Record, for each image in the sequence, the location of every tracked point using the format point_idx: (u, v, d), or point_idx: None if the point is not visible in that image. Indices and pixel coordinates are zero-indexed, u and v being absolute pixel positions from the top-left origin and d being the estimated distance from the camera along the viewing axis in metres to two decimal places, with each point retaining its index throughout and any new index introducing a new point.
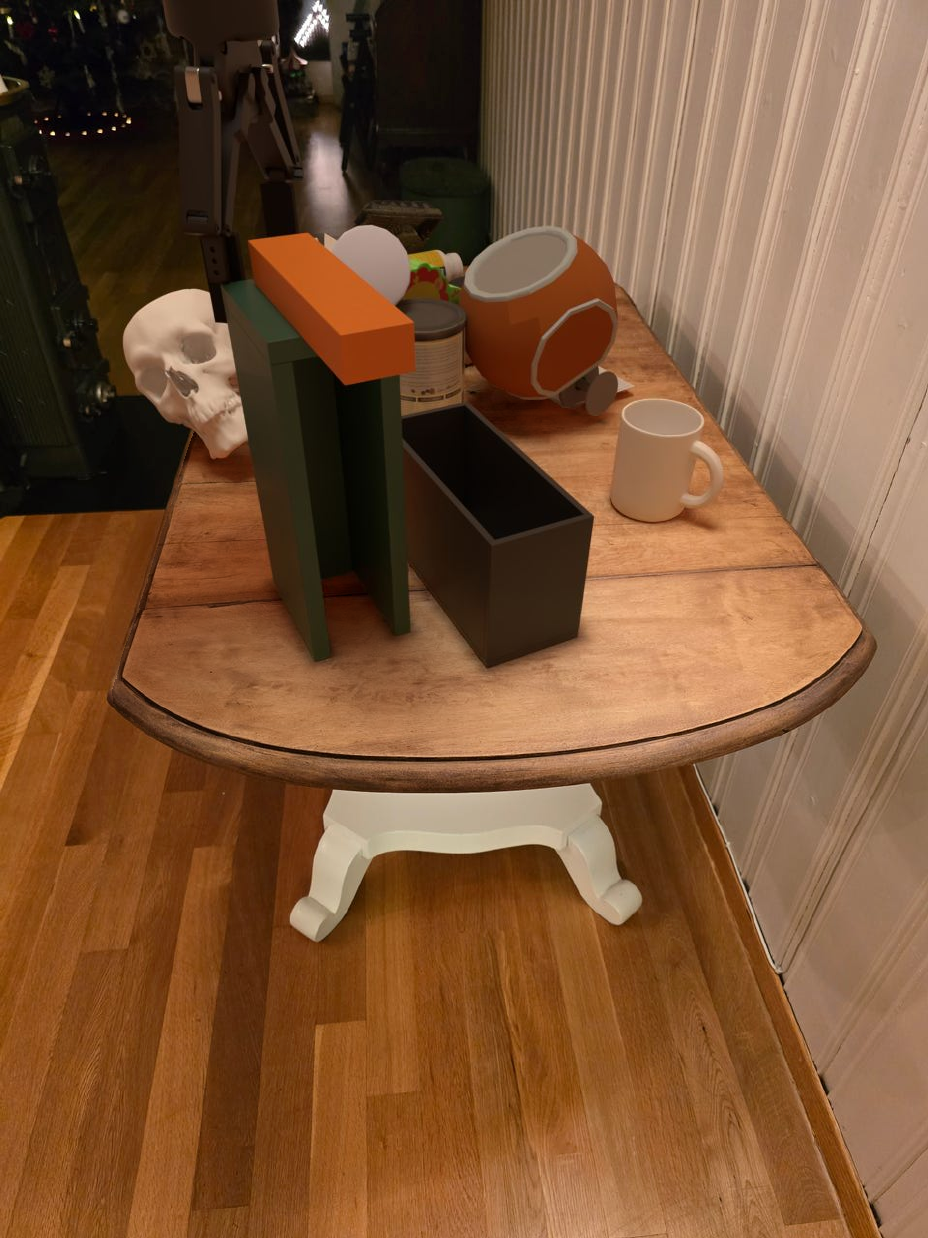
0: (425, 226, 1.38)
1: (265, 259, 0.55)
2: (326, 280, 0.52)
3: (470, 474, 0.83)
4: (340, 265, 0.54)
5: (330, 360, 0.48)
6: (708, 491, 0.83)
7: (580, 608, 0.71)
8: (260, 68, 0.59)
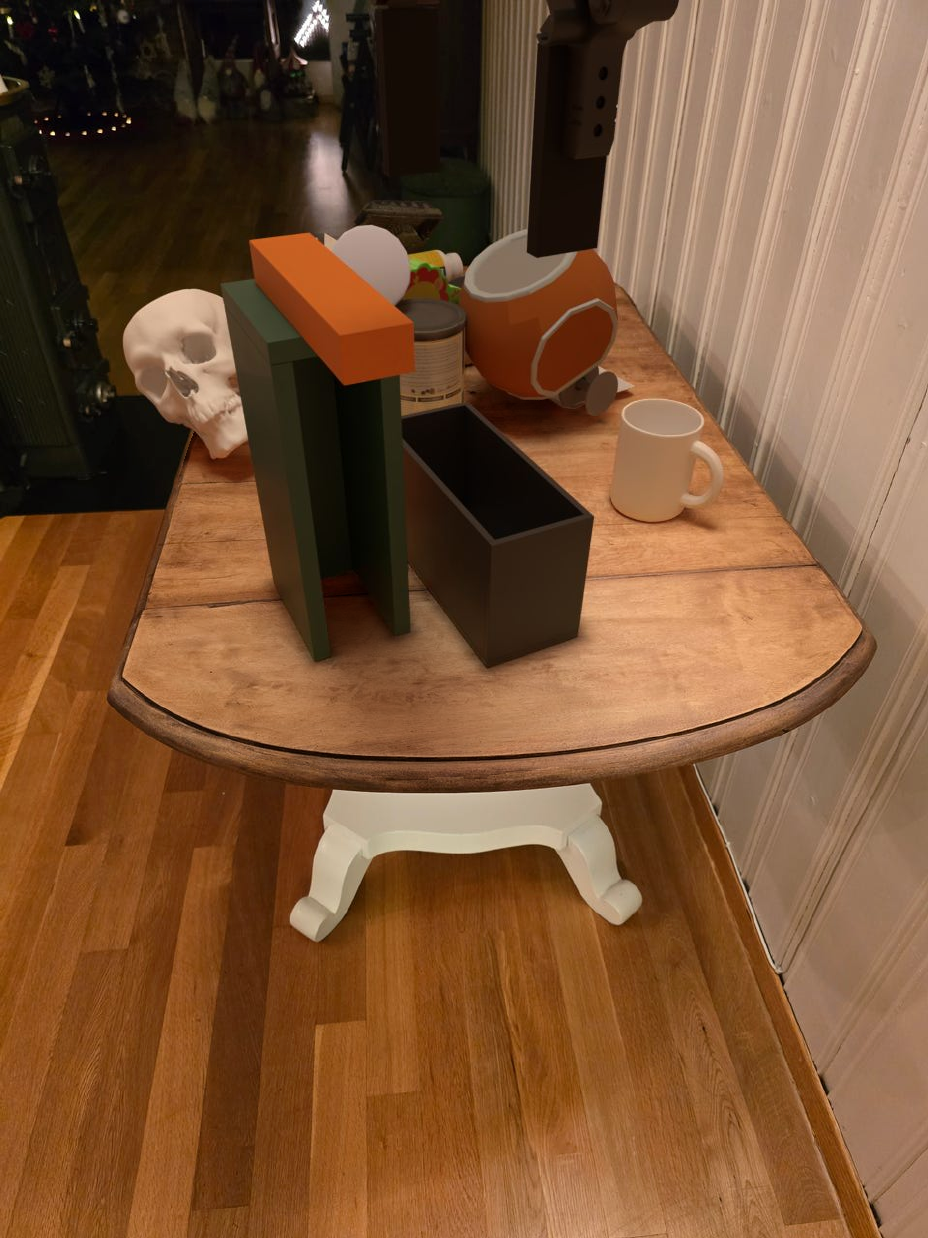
0: (425, 226, 1.38)
1: (266, 259, 0.55)
2: (326, 280, 0.52)
3: (470, 474, 0.83)
4: (341, 265, 0.54)
5: (330, 360, 0.48)
6: (708, 491, 0.83)
7: (580, 608, 0.71)
8: None
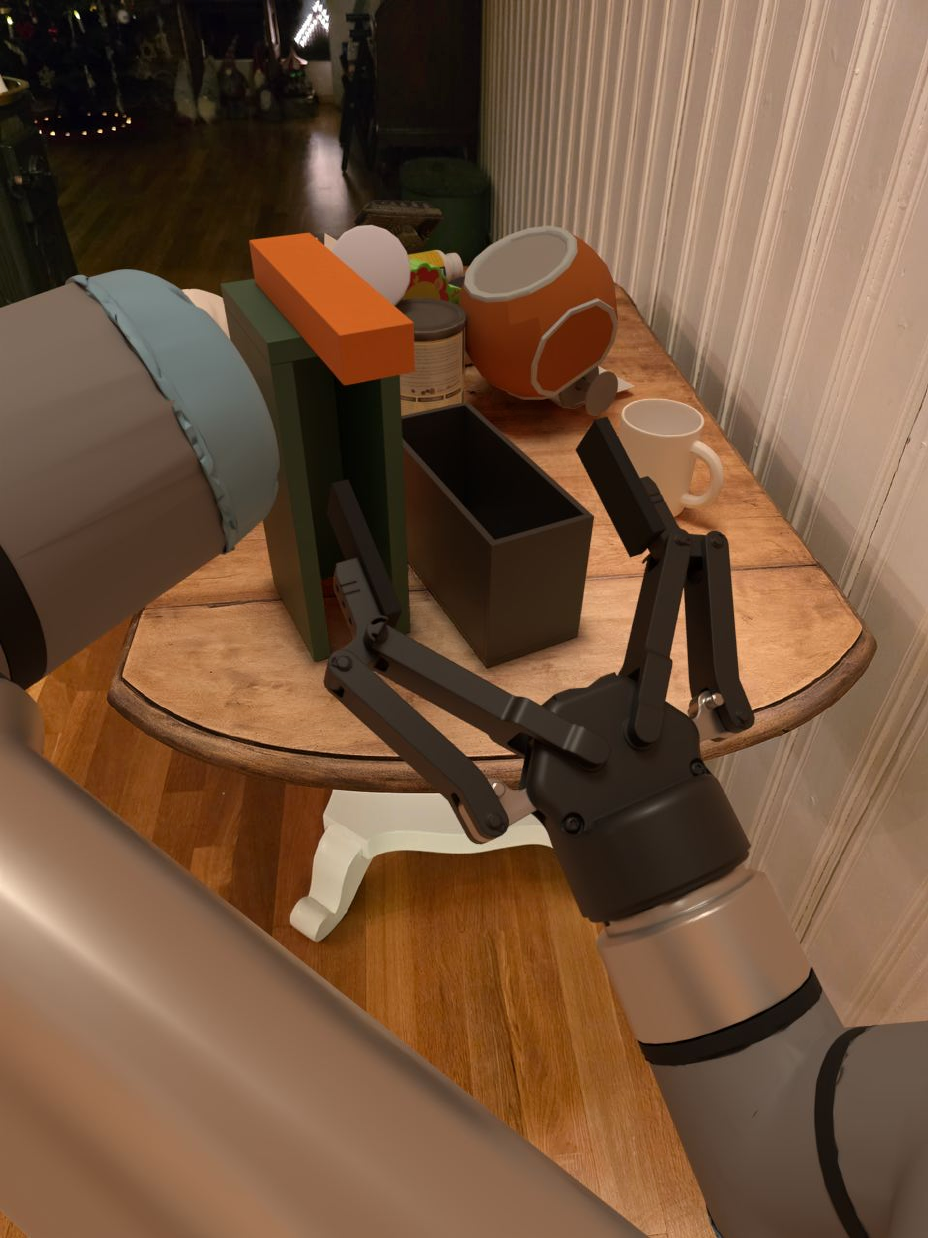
0: (425, 226, 1.38)
1: (266, 259, 0.55)
2: (326, 280, 0.52)
3: (470, 474, 0.83)
4: (341, 265, 0.54)
5: (330, 360, 0.48)
6: (708, 491, 0.83)
7: (580, 608, 0.71)
8: None
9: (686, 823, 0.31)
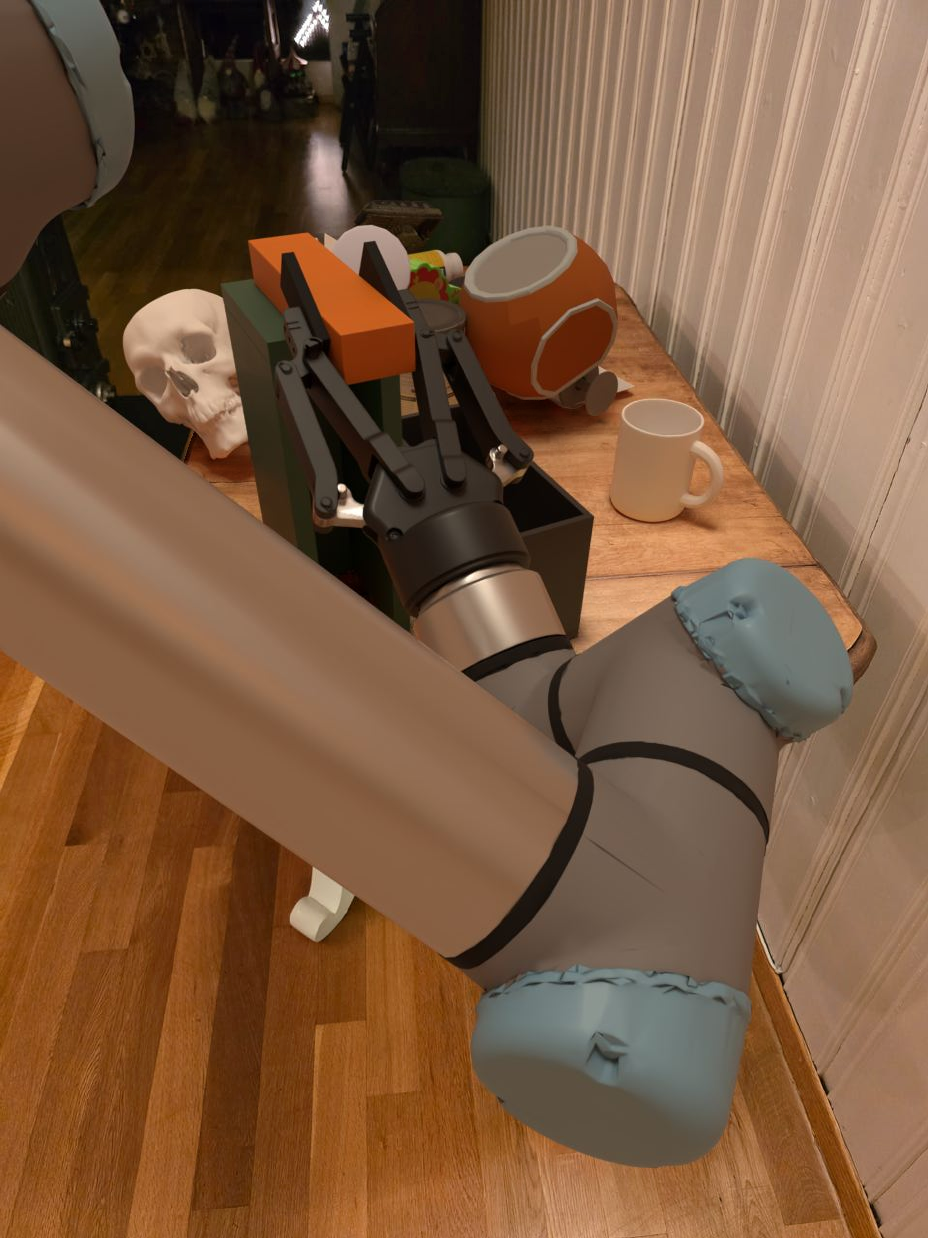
0: (425, 226, 1.38)
1: (265, 259, 0.55)
2: (326, 280, 0.52)
3: None
4: (340, 265, 0.54)
5: (330, 360, 0.48)
6: (708, 491, 0.83)
7: (580, 608, 0.71)
8: None
9: (471, 523, 0.42)
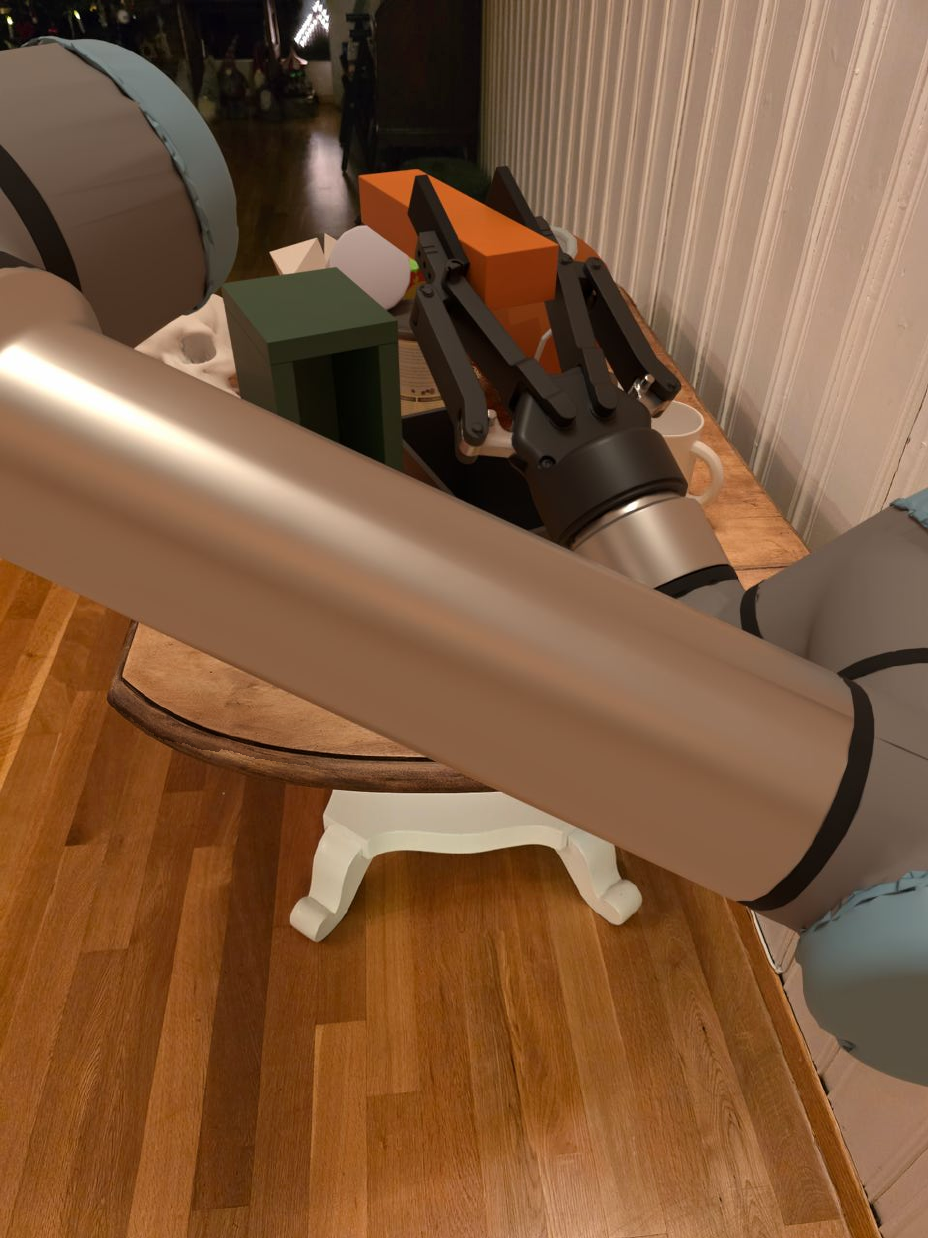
0: None
1: (382, 191, 0.53)
2: (453, 209, 0.50)
3: (470, 474, 0.83)
4: (463, 196, 0.52)
5: None
6: (708, 491, 0.83)
7: None
8: None
9: (634, 447, 0.40)
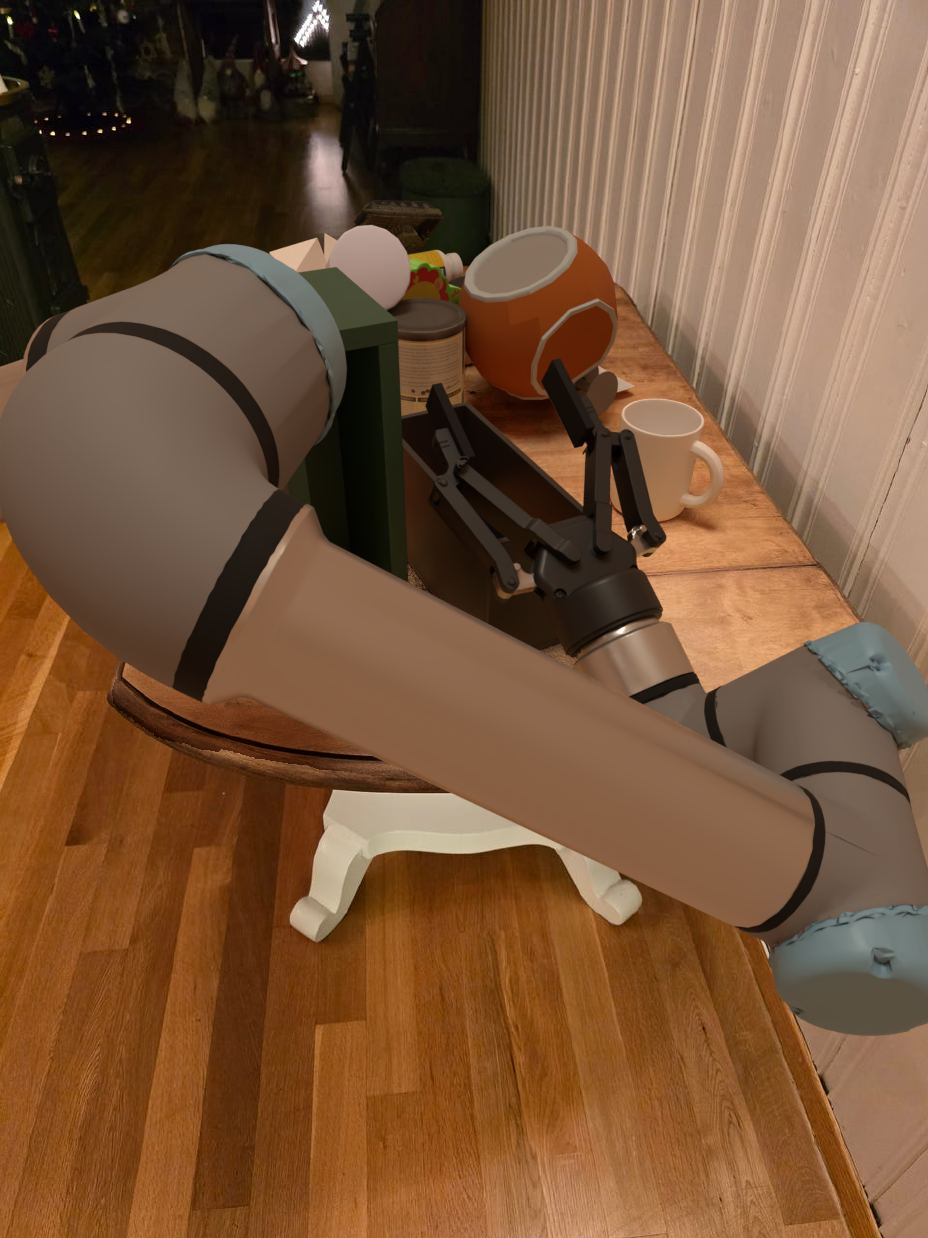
0: (425, 226, 1.38)
1: None
2: None
3: None
4: None
5: None
6: (708, 491, 0.83)
7: None
8: None
9: (623, 587, 0.55)
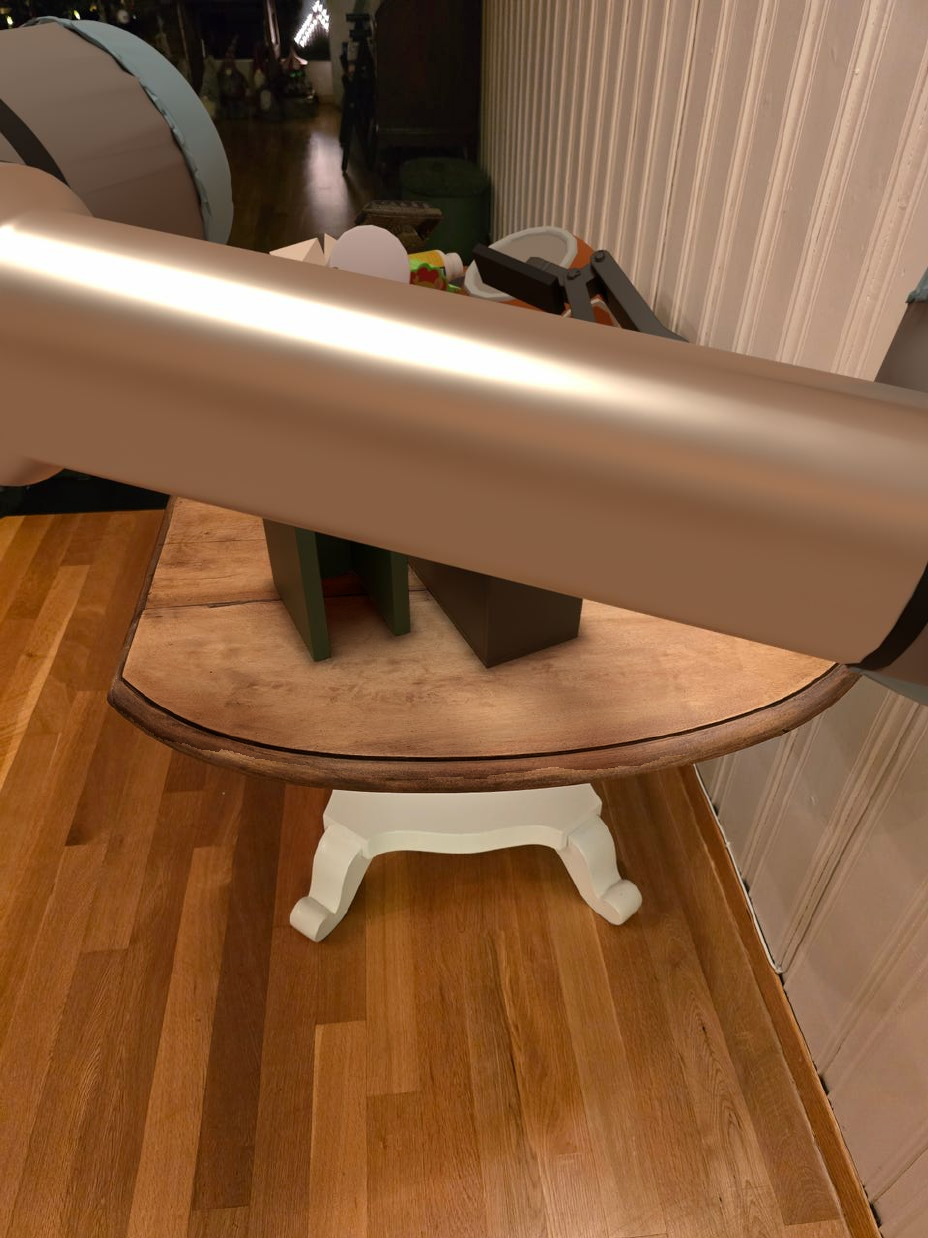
0: (425, 226, 1.38)
1: None
2: None
3: None
4: None
5: None
6: None
7: (580, 608, 0.71)
8: None
9: None
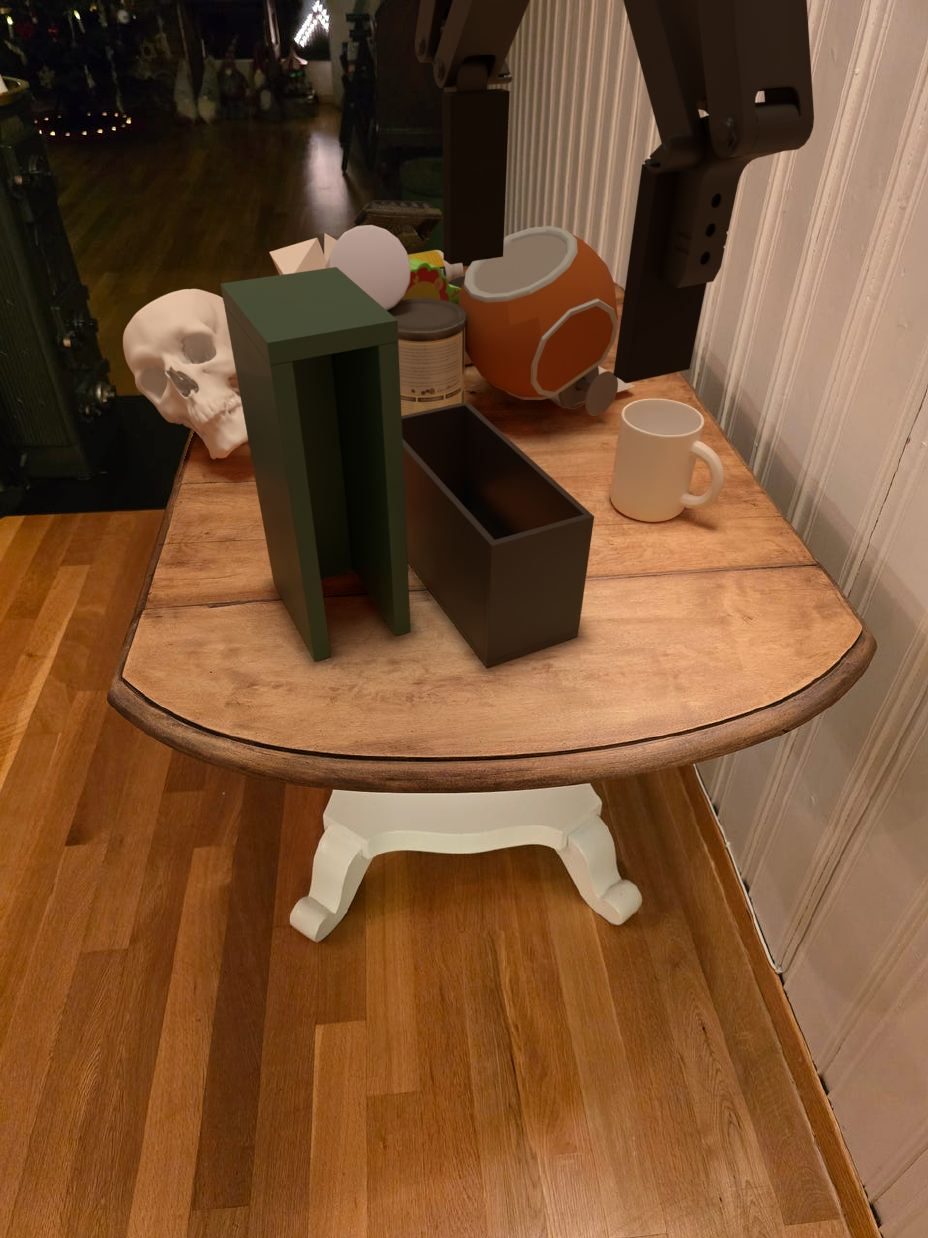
0: (425, 226, 1.38)
1: None
2: None
3: (470, 474, 0.83)
4: None
5: None
6: (708, 491, 0.83)
7: (580, 608, 0.71)
8: None
9: None
